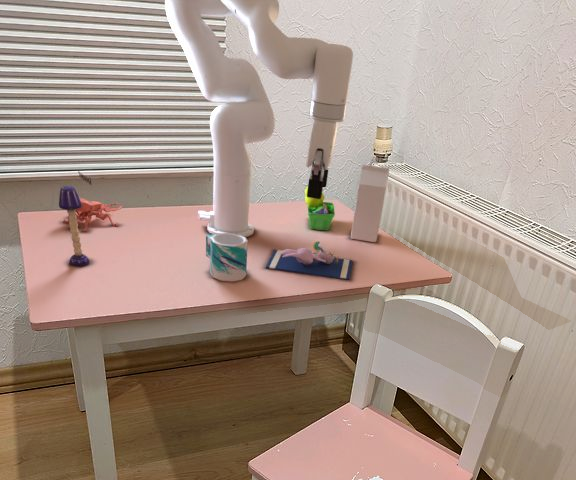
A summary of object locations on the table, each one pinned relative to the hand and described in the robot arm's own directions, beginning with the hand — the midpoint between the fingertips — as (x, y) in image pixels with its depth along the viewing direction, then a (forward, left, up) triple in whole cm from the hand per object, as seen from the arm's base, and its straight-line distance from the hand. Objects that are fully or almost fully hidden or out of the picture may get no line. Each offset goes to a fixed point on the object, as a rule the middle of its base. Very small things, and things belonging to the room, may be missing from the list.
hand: (316, 191), depth 132 cm
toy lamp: (-50, -19, -17) cm, 57 cm away
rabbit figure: (0, -2, -17) cm, 17 cm away
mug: (-18, -12, -17) cm, 28 cm away
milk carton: (+13, +25, -17) cm, 33 cm away
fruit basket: (-1, +30, -17) cm, 34 cm away
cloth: (+1, -1, -17) cm, 17 cm away
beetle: (-58, +7, -17) cm, 61 cm away
